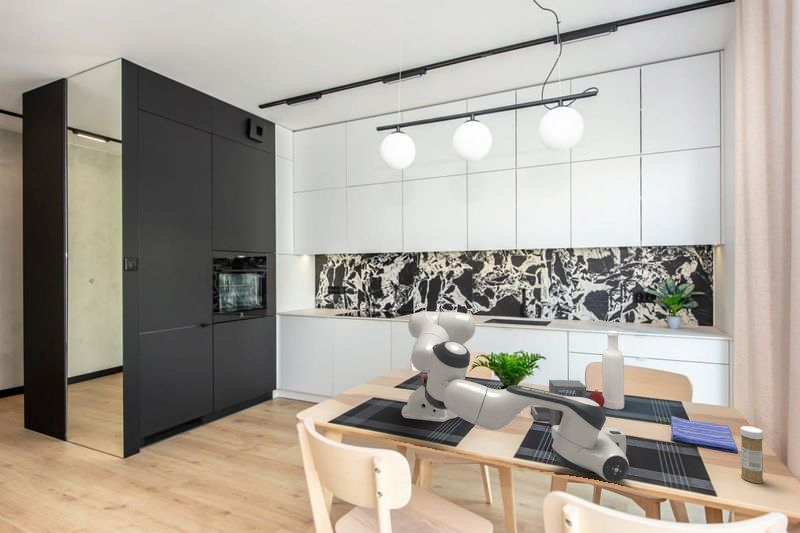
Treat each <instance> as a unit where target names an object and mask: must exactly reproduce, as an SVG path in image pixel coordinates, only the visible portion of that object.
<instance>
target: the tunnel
mask: <svg viewBox="0 0 800 533" xmlns="http://www.w3.org/2000/svg"><path fill="white" fill-rule="evenodd" d="M548 387H549V388H548V391H549V392H554V393H558V394H559V391H575V397H583V398H587V386H586V385H585V384H583V383H582V382H581V381H580V380H571V379H570V380H564V379H548ZM548 422H549V424H550V425H551V427H552V426H554V425H559V424H558V410H555V409H551V408H549V421H548Z"/></svg>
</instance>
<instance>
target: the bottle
mask: <svg viewBox="0 0 800 533" xmlns="http://www.w3.org/2000/svg"><path fill="white" fill-rule="evenodd" d="M606 335H607V348H606V350H604V351H603V354H602V356H601V359H602V360H601V361H602V362H601V363H602V364H601V368H602V369H601V377H602V378H601V379H602V380H601V383H602V384H601V386H602V388H601V389H602V391H601V392H602V393H601V394H602V395H603V397H604V399H605V403H604V405H603V407H604V408H607V409H609V410H622V409H624V408H625V365H624V364H625V358H624V354H623V353H622V352H621V350H619V332H618V331H617V330H608V331H607V334H606Z"/></svg>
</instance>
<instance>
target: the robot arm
mask: <svg viewBox="0 0 800 533" xmlns="http://www.w3.org/2000/svg"><path fill="white" fill-rule="evenodd" d="M407 326H408V331H409V334H410V335H411V337H413V338H414V339H416V340H415V342H414V344H413V347H412V350H411V356H410V358H411V359H410V361H411V364H412V366H413V367H414V368H415V370H417V371H418V372H420V373H423V374H422V375H421V378H420V379H421V386H420V387H418V388H417V389H415V390H414V391H413V392H411V393H410V395H409V397H408V400H407V404H405V405H403V407H402V408H401V415H402V417H403V418H405V419H410V420H411V419H412V420H421V421H430V422H440V423H442V422H446V421H448V420H451V419H456V418H458V417H459V418H461V419H463V420H464V421H467V422H469V423H471V424H473V425H475V426H477V427H479V428H483V429H485V430H488V431H498V430H501V429H503V428H505V427H507V426H508V425H509V424H510V423H511V422H512V421H513V420H514V419H515V418H516V417H517V415H518V414H520V413H521V412H522V411H523V410H524V409H526V408H528V407H531V406H542V407H546V408H551V409H555V410H560V411H563V412H564V414H563V417H562V420H561V423H560V425H559V424H558V425H554V426H552V425H551V437H552V439H553V442H552V445H551V449H552V452H553V453H554V455H555V457H556V458H557V460H558V461H559V462H561V464H562V465H564V466H565V467H567V468H569V469H571V470H573V471H575V472H579V473H592V472H594V473H595V474H596V475H597V476H600V477H601V478H602V479H604V480H605V481H607V482H609V483H614V484H615V483H619V482H622V481H623V480H624V479H625V478H626V477H627V476H628V474H629V471H630V463H629V459H628V457H627V456H626V453H627V437H626V434H625V433H624V431H623V430H622V429H621V428H619V427H616V426H615V427H614V426H610V427H609V426H608V427H607V426H604V425H605V423H606V421H607V417H606V414H605V411H604V409H603V407H601V406H600V405H599V404H598V403H596V402H595V401H593V400H590V399H588V398H589V397H588V398H587V397H586V398H583V397H576V395H575V396H574V395H573V396H568V395H569V394H561V393H559V392H558V393H554V392H549V390H548V391H547V390H545V389H539V388H534V387H530V386H529V387H528V386H523V385H518V384H517V385H516V384H514V385H513V384H512V385H508V386H507V387H506V388H504V389H495V388H490V387H488V386H485V385H483V384H480V383H478V382H473V381H469V380H465V379H466V376H467V373H468V372H467V371H468V367H469V365H470V362H471V353H470V351H469V349H468V348H467V347H466V346H465V344H466V343H467V342H468V341H469V340H471V339H472V338H473V336H474V334H475V333H476V322H475V320H474V318H473V317H472V315H471V314H468V313H464V312H459V311H430V310H429V311H419V312H415V313H413V314H412V315H411V316H410V318H409V320H408V323H407Z"/></svg>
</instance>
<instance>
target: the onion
mask: <svg viewBox="0 0 800 533" xmlns="http://www.w3.org/2000/svg"><path fill="white" fill-rule="evenodd" d="M588 399H590V400H593V401H595V402H596V403H598V404H599V405H600V406H601V407H602V408H603V407H604V406H603V405H604V403H605V399H604V397H603V395H602V393H601V392H599V390H598V389H597V388H595V390H594V391H592V392H591V393H590V394H589V396H588Z"/></svg>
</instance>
